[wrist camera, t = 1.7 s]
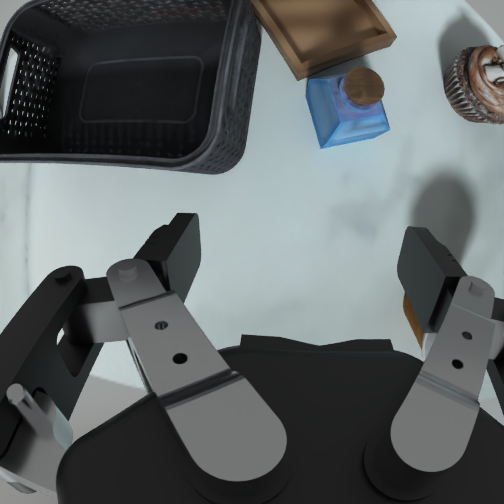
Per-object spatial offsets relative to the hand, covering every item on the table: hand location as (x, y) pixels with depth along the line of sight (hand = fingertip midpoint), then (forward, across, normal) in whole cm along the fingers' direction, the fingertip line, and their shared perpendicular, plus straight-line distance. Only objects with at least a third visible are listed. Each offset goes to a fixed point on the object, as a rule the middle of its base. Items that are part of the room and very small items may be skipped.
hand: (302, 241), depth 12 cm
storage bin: (+27, +18, -6) cm, 33 cm away
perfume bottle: (+26, -5, -2) cm, 26 cm away
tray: (+29, -3, -14) cm, 33 cm away
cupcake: (+27, -23, -8) cm, 36 cm away
